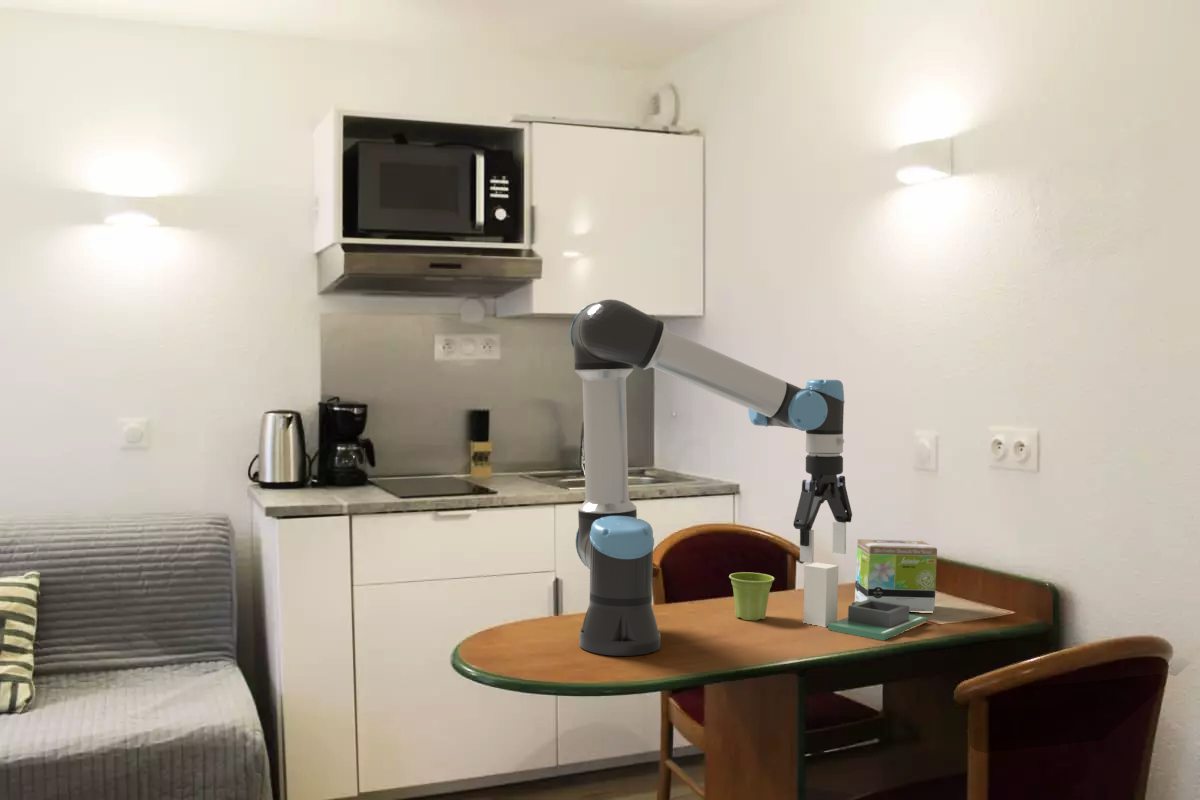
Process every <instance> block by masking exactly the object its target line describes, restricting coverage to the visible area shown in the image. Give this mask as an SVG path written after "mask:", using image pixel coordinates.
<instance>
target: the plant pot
mask: <svg viewBox="0 0 1200 800" xmlns="http://www.w3.org/2000/svg"><path fill="white" fill-rule="evenodd" d="M728 578H729V579H730V580H731V581H730V582H731V585H732V589H733V590H732V591H733V600H734V601H733V602H734V611H735V617H736V618H737V619H742V620H744V621H758V620H765V618H766V615H767V608H768V602H769V596H770V590H771V588H772V584H773V582H774V581H775V577H774V576H772V575H770V574H766V573H760V572H745V571H744V572H743V571H742V572H734V573H730V574H729V576H728Z"/></svg>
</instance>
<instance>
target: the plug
mask: <svg viewBox="0 0 1200 800" xmlns="http://www.w3.org/2000/svg"><path fill="white" fill-rule="evenodd" d="M803 573H804V575H803V578H804V579H803V589H804V590H803V623H802V624H804V623H807V624H806V625H809V624H812V625H811V626H814V625H818V626H817V627H819V626H822V628H828V627H827V626H828V624H830V623H833V622H836V621H838V599H839V598H838V597H839V596H838V595H839V565H838V564H837V565H836V564H831V563H823V562H819V561H817V562H813V563H809V564H805V565H804V571H803Z"/></svg>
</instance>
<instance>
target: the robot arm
mask: <svg viewBox="0 0 1200 800" xmlns="http://www.w3.org/2000/svg"><path fill="white" fill-rule="evenodd" d="M569 333H570V334H569V336H570V337H569V338H570V344H571V345H572V347H573V354H574V355H573V357H574V358H573V359H574V360H573V361H574V373H576V374H577V375H578V376H579V377H580V378H581V380H582V405H583V406H582V408H583V410H582V411H583V412H582V413H583V446H584V447H583V449H584V451H583V452H584V453H583V454H584V487H585V488H584V489H585V493H584V494H585V500H584V502H583V503H582V504H580V506H579V507H578V510H577V513H578V514H577V515H578V518H577V519H578V528H577V530H576V531H577V532H576V536H575V549H576V552H577V556H578V557H579V559H580V560H581V563H583V565H584V566H585V567H587V568H588V569H589V603H588V604H589V605H588V608H587V611H586V613H585V616H584V619H583V623H582V626H581V628H580V631H579V637H578V638H579V644H578V645H579V647H580V648H581V649H583V650H585V651H587V652H591V653H593V654H599V655H606V656H614V657H618V656H619V657H621V656H622V657H624V656H625V657H627V656H628V657H630V656H631V657H632V656H633V657H634V656H642V655H647V654H652V653H654V652H656V651H658V650H660V648H661V632H660V630H659V628H658V627H659V626H658V622H657V619H656V615H655V612H654V609H653V575H654V574H653V569H654V567H653V566H654V564H653V563H654V562H653V561H654V547H655V540H654V539H655V537H654V531H653V530H654V529H653V527H652V525H651V524H650V523H649V522H647V521H646V520H645V519H641V518H637V516H638V515H637V514H638V513H637V511H638V509H637V506H636V505H635V504H634V503H633V502H632V501H631V499H630V498H629V460H628V459H629V458H628V456H629V454H628V423H627V419H628V417H627V414H628V413H627V411H628V410H627V381H626V379H627V378H628V377H629V375H630V374H631V373H632V372H633V371H634V367H636V368H639V369H642V370H648V369H650V368H653V369H655V370H657V371H660V372H663V373H664V374H666V375H669V376H672V377H674V378H676V379H679V380H681V381H683V382H685V383H688V384H691V385H692V386H694V387H697V388H700V389H701V390H703V391H706V392H709V393H712V394H714V395H716V396H719V397H721V398H722V399H723V398H724V399H725V400H728V401H730V402H732V403H735V404H737V405H739V406H742V407H745V408H747V410H748V412H747V413H748V416H749V420H750V422H751V424H752V425H754V426H757V427H758V426H760V427H766V428H768V427H781V428H782V427H783V428H790V429H796V430H798V431H802V432H804V431H805V433H806V434H805V452H806V453H808V454H806V456H805V472H806V473H807V474H810V475H811V478H810V479H803V480H802V482H801V492H800V496H799V500H798V503H797V507H796V511H795V515H794V520H793V527H794V528H795V529H796V530H799V562H804V563H809V564H812V563H815V561H814V560H815V559H814V558H815V557H814V555H815V552H814V551H815V550H814V546H815V545H814V544H815V542H814V541H815V530H814V529H812V528H813V525H814V523H815V520H816V518H817V516H818V513H819V511H820V508H821V506H822V504H824V503H825V501H826V502H827V504H828V506H829V508H830V511H831V513H832V515H833V518H834V520H835V521H833V522H832V553H834V554H835V553H836V554H841V555H842V554H843V555H845V554H846V553H847V523H851V522H852V518H853V511H852V507H851V504H850V500H849V495H848V492H847V486H846V477H845V475H841V474H843V472H844V457H843V456H842V455H841V454H842V453H843V452H844V443H845V439H844V416H845V415H844V414H845V413H844V411H845V410H844V409H845V406H844V405H845V393H844V392H845V391H844V385H843V382H842V381H841V380H839V379H808V380H807V381H806V386H805V388H801V387H798V386H797V385H794V384H792V383H790V382H786V381H785V380H783V379H781V378H778V377H776V376H774V375H772V374H769V373H767V372H764V371H762V370H760V369H757V368H755V367H753V366H751V365H749V364H746V363H744V362H741V361H740V360H737V359H735V358H733V357H731V356H727V355H725V354H724V353H721V352H719V351H716V350H714V349H712V348H709V347H707V346H705V345H702V344H701V343H698V342H696V341H693V340H692V339H689V338H687V337H684V336H682V335H680V334H677V333H676V332H673V331H671V330H668V328H667V324H666V322H665V321H664V322H663V321H662V320H659V319H657V318H655V317H653V316H651V315H649V314H647V313H645V312H643V311H641V310H640V309H637V308H636V307H634V306H632V305H631V304H628V303H626V302H624V301H621V300H617V299H603V300H599V301H598V302H593V303H590V304H588V305H586V306H584V307H583V308H582V309H580V310H579V311H578V313H577V314H576V315H575V317H574V318H573V321H572V323H571V326H570V330H569ZM846 555H847V554H846ZM651 652H652V653H651Z"/></svg>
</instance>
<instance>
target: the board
mask: <svg viewBox="0 0 1200 800" xmlns="http://www.w3.org/2000/svg"><path fill="white" fill-rule="evenodd" d="M847 616H848V617H844V618H842V619H839V620H837V621H836V622H833V623H830V624H828V627H827V628H828V631H831V630H832V632H836V631H837V632H836V633H841V632H842V633H841V634H846V633H848V634H847V635H851V634H852V636H856V635H857V636H858V637H861V636H863V638H866V639H867V638H868V639H872V638H873V640H877V639H878V640H877V641H882V640H883V642H885V641H887V640H889V639H888V638H890V637H892V638H894V637H893V636H894V635H897V634H899V633H901V632H903V631H905V630H907V629H910V628H911V627H913V626H916V625H918V624H920V623H922V622H924V621H926V620H927V621H928V617H926V616H920V615H916V614H915V615H914V614H910V613H909V606H905V605H899V604H893V603H887V602H881V601H875V600H869V599H868V600H865V601H862V602H858V601H856V602H855V601H853V602H851V605H848V611H847ZM897 636H898V635H897ZM886 639H887V640H886ZM890 639H891V638H890Z"/></svg>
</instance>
